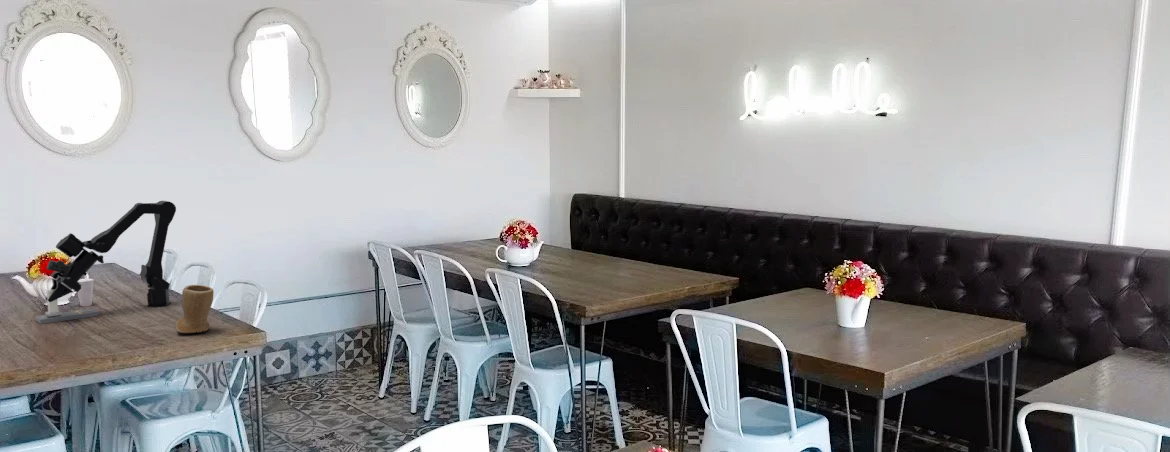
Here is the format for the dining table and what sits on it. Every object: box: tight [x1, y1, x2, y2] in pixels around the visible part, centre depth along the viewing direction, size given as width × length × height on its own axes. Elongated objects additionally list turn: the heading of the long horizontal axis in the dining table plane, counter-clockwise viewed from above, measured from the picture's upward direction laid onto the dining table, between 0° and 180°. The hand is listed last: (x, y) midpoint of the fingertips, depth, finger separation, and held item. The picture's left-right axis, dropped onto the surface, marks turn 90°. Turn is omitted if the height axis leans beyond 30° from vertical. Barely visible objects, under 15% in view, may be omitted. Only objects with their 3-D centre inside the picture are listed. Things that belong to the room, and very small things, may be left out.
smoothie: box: [77, 275, 95, 307], centre depth 324 cm, size 6×6×14 cm
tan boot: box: [175, 284, 215, 334], centre depth 281 cm, size 15×12×15 cm
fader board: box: [34, 307, 100, 325], centre depth 303 cm, size 18×8×2 cm, turn 133°
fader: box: [44, 289, 62, 317], centre depth 299 cm, size 4×5×9 cm
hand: (47, 300), depth 298 cm, fingers closed on fader, 3 cm apart
